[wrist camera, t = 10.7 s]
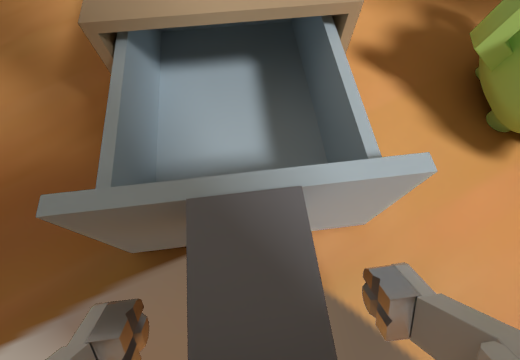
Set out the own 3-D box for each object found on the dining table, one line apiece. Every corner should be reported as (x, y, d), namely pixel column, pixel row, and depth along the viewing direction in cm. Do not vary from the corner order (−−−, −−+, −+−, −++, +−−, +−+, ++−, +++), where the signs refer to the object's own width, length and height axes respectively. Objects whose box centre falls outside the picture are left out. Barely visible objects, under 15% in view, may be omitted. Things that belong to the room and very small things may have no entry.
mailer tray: (403, 358, 14) (549, 417, 7) (121, 401, 13) (-36, 516, 6) (306, 26, 24) (325, -85, 17) (146, 39, 23) (99, -71, 16)
